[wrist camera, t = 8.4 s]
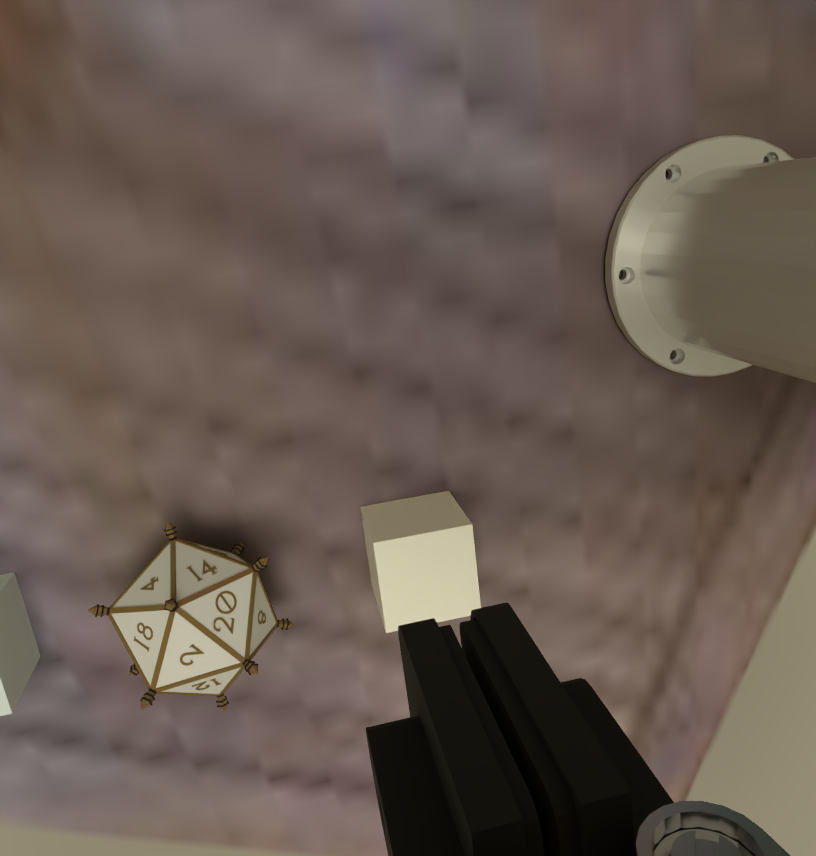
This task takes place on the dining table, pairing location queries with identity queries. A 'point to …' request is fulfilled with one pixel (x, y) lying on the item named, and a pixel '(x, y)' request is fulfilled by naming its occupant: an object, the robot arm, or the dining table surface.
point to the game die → (193, 619)
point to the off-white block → (421, 559)
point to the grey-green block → (14, 644)
